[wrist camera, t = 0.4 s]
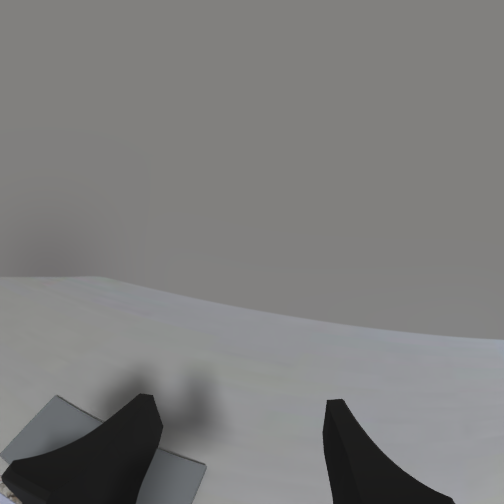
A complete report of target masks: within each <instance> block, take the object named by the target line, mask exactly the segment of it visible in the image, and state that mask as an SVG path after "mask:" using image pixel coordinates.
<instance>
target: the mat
mask: <svg viewBox="0 0 504 504" xmlns="http://www.w3.org/2000/svg"><path fill="white" fill-rule="evenodd" d="M101 424H103V423H102V422H100V421H98V420H96V419H94V418H93V417H91V416H89V415H87V414H85V413H84V412H82V411H80V410H78V409H77V408H75V407H73V406H72V405H70V404H68V403H67V402H65V401H63V400H62V399H60V398H59V397H57V396H56V395H55V396H54V397H53V398H52V399H51V400H50V401H49V402H48V403H47V404H46V405H45V406H44V407H43V409H42V410H41V411H40V412H39V413H38V414H37V415H36V416H35V417H34V418H33V419H32V420H31V421H30V422H29V423H28V424H27V425H26V426H25V427H24V428H23V430H22V431H21V432H20V433H19V434H18V435H17V436H16V437H15V438H14V439H13V440H12V441H11V442H10V444H9V445H8V446H7V447H6V448H5V449H4V450H3V451H2V452H1V453H0V456H1V457H2V458H3V459H4V460H5V461H6V462H7V463H8V464H9V465H10V464H11V463H12V461H13V460H18V459H24V458H29V457H34V456H38V455H41V454H45V453H48V452H51V451H53V450H56V449H58V448H61V447H63V446H65V445H68V444H70V443H72V442H74V441H76V440H78V439H79V438H81V437H83V436H85V435H86V434H88V433H90V432H91V431H93V430H94V429H96V428H97V427H98V426H100V425H101ZM206 468H207V466H205V465H202V464H199V463H196V462H193V461H190V460H187V459H184V458H182V457H179V456H176V455H173V454H171V453H168V452H165V451H163V450H160V449H158V448H157V450H156V452H155V454H154V457H153V459H152V461H151V464H150V466H149V468H148V471H147V473H146V475H145V477H144V480H143V482H142V485H141V487H140V490H139V494H138V497H137V501H136V504H192V502H193V500H194V497H195V495H196V492H197V490H198V488H199V485H200V483H201V480H202V478H203V476H204V473H205V471H206Z"/></svg>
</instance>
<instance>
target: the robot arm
mask: <svg viewBox="0 0 504 504" xmlns="http://www.w3.org/2000/svg"><path fill="white" fill-rule="evenodd" d="M162 429H163V425H162V422H161V419H160V416H159V413H158V410H157V407H156V404H155V401H154V397H153V395H147V394H139V395H138V396H136V397H135V398H134V399H133V400H132V401H130V402H129V403H128V404H127V405H126V406H124V407H123V408H122V409H121V410H120V411H118V412H117V413H116V414H115V415H113V416H112V417H111V418H109V419H108V420H107V421H105V422H104V423H103V424H101V425H100V426H98V427H97V428H96V429H94V430H93V431H91V432H90V433H88V434H86V435H85V436H83V437H81V438H79V439H78V440H76V441H74V442H72V443H70V444H68V445H65V446H63V447H61V448H58V449H56V450H53V451H51V452H48V453H45V454H41V455H38V456H34V457H29V458H24V459H18V460H13V461H12V463H11V464H10V465H9V467H8V468H7V469H6V471H5V472H4V473H3V475H2V476H1V479H2V481H3V483H4V484H5V485H6V487H7V488H8V489H9V490H10V491H11V492H12V493H13V494H14V495H15V496H16V497H17V498H18V499H19V500H20V501H21V502H22V504H136V501H137V497H138V494H139V490H140V487H141V485H142V482H143V480H144V477H145V475H146V473H147V471H148V468H149V466H150V464H151V461H152V459H153V457H154V454H155V452H156V450H157V447H158V445H159V441H160V437H161V433H162ZM323 445H324V455H325V460H326V465H327V470H328V475H329V481H330V486H331V491H332V497H333V504H455V503H454V501H453V499H452V498H450V497H448V496H446V495H443V494H441V493H439V492H437V491H435V490H433V489H431V488H429V487H427V486H426V485H424V484H422V483H421V482H419V481H418V480H416V479H415V478H413V477H412V476H410V475H409V474H407V473H406V472H405V471H403V470H402V469H401V468H400V467H398V466H397V465H396V464H395V463H394V462H393V461H392V460H390V459H389V458H388V457H387V456H386V455H385V454H384V453H383V452H382V451H381V450H380V449H379V448H378V446H377V445H376V444H375V443H374V442H373V441H372V440H371V439H370V437H369V436H368V435H367V434H366V432H365V431H364V430H363V428H362V427H361V426H360V424H359V423H358V422H357V420H356V419H355V417H354V416H353V414H352V413H351V411H350V410H349V408H348V406H347V405H346V403H345V401H344V400H343V399H335V400H327V404H326V412H325V419H324V426H323ZM0 504H16V503H15V502H13V501H12V500H10V499H9V498H8V497H6V496H5V495H3V494H2V493H0Z"/></svg>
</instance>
